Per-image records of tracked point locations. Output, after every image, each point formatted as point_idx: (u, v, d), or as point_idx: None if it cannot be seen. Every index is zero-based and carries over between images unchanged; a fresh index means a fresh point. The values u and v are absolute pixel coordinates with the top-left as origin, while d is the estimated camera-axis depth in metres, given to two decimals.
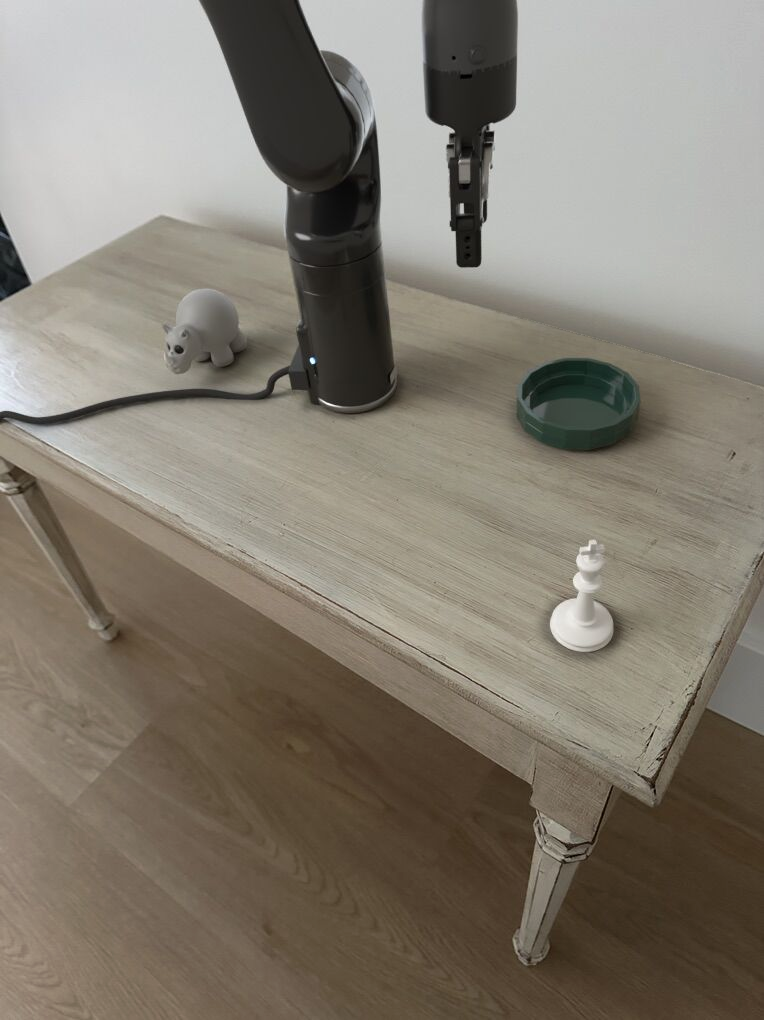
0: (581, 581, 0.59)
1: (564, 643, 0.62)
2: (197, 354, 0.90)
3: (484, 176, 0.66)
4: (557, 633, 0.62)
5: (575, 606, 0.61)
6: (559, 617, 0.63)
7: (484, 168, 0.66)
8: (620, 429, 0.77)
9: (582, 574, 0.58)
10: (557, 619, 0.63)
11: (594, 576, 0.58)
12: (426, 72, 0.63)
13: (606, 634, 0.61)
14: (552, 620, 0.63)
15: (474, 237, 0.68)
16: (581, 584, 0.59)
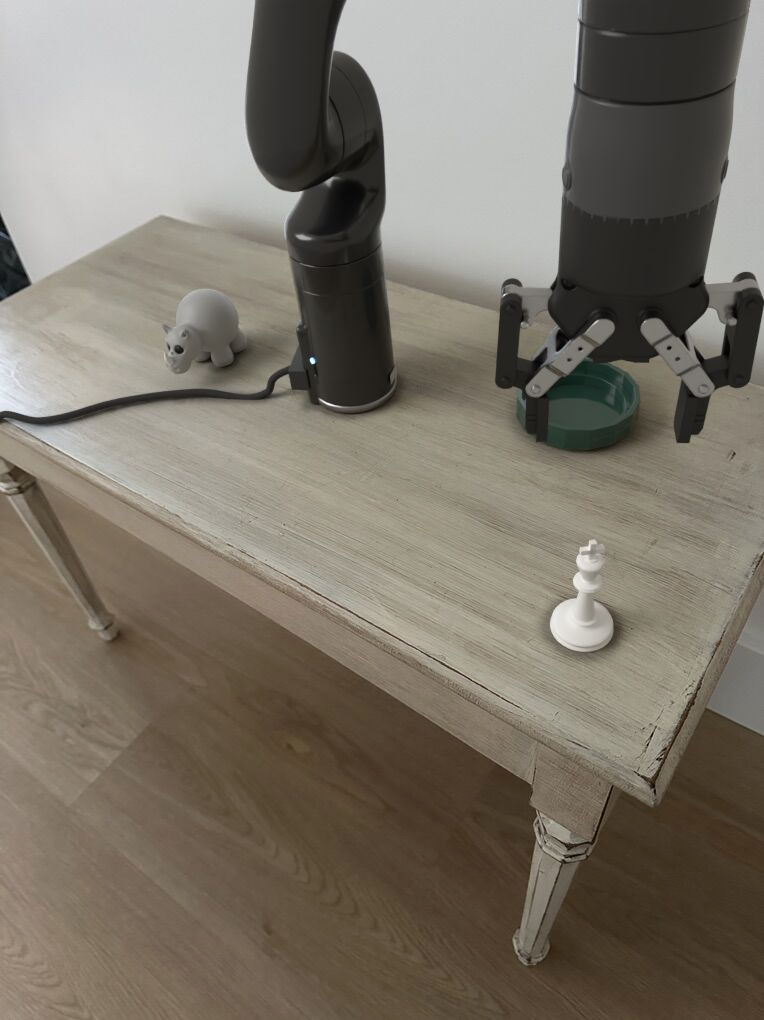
0: (581, 581, 0.59)
1: (564, 643, 0.62)
2: (197, 354, 0.90)
3: (566, 346, 0.45)
4: (557, 634, 0.62)
5: (575, 606, 0.61)
6: (559, 617, 0.63)
7: (573, 338, 0.44)
8: (620, 429, 0.77)
9: (582, 574, 0.58)
10: (557, 619, 0.63)
11: (594, 576, 0.58)
12: None
13: (606, 634, 0.61)
14: (552, 620, 0.63)
15: (526, 400, 0.48)
16: (581, 584, 0.59)
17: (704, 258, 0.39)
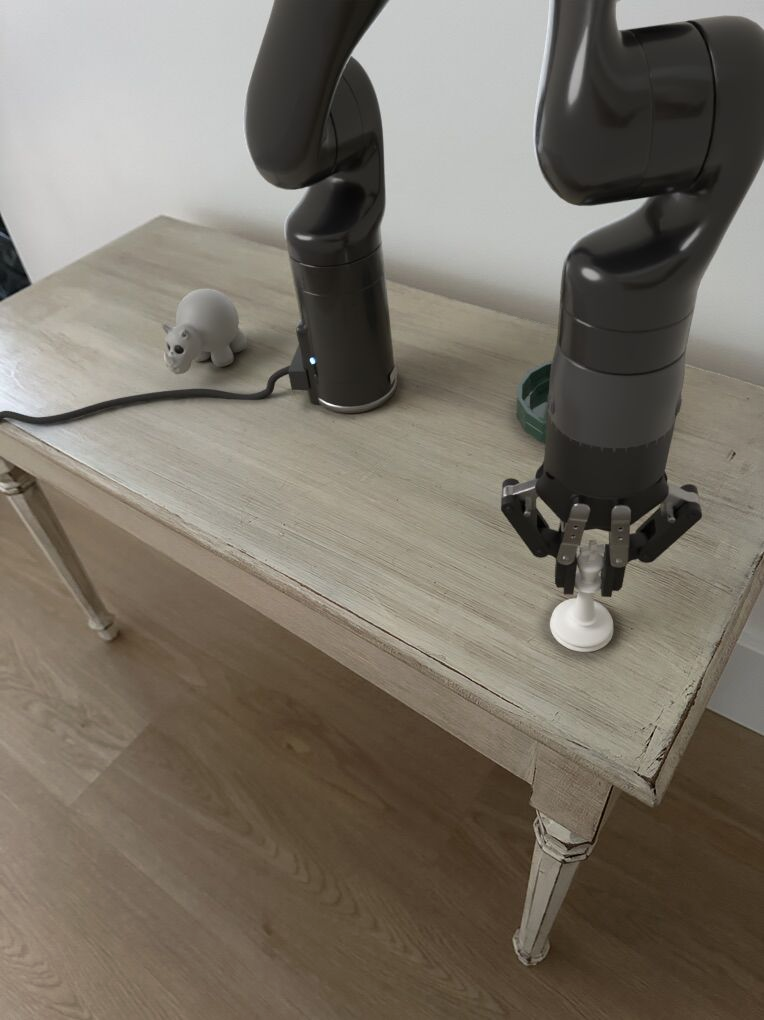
0: (581, 581, 0.59)
1: (564, 643, 0.62)
2: (197, 354, 0.90)
3: None
4: (557, 634, 0.62)
5: (575, 606, 0.61)
6: (559, 617, 0.63)
7: (566, 520, 0.53)
8: None
9: (582, 574, 0.58)
10: (557, 619, 0.63)
11: (594, 576, 0.58)
12: None
13: (606, 634, 0.61)
14: (552, 620, 0.63)
15: (556, 563, 0.57)
16: (581, 584, 0.59)
17: (663, 467, 0.48)
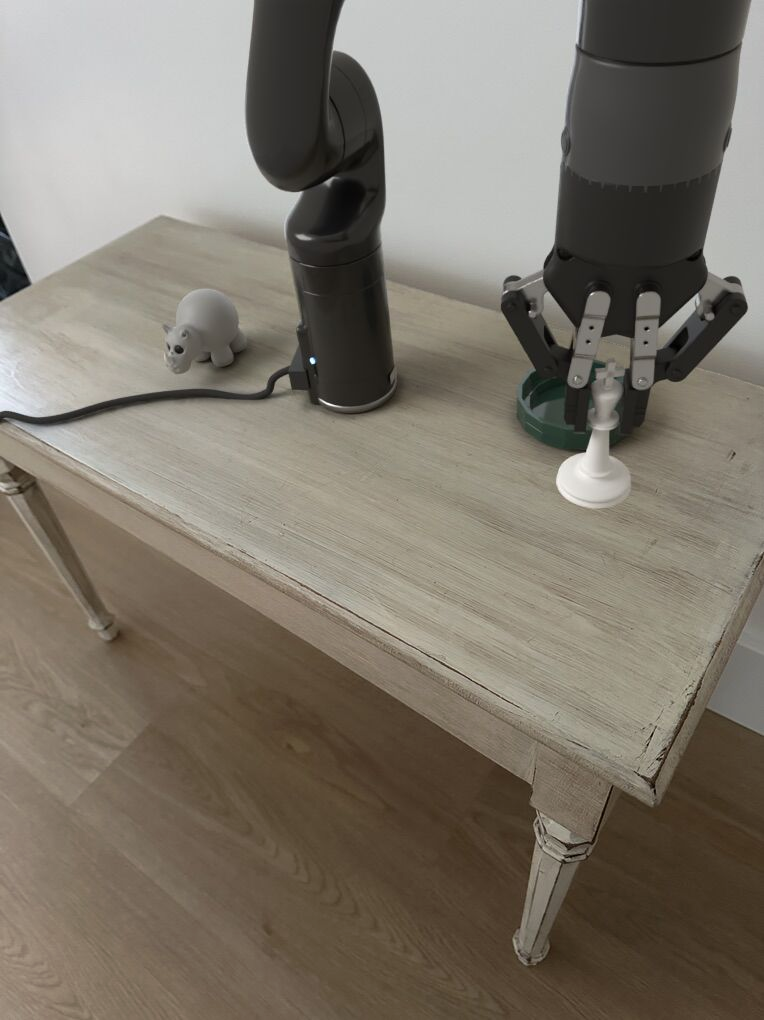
0: (595, 417, 0.49)
1: (573, 499, 0.52)
2: (197, 354, 0.90)
3: None
4: (564, 488, 0.53)
5: (587, 453, 0.52)
6: (567, 471, 0.53)
7: (580, 321, 0.44)
8: None
9: (597, 405, 0.48)
10: (565, 473, 0.53)
11: (611, 407, 0.48)
12: None
13: (623, 488, 0.52)
14: (559, 474, 0.53)
15: (566, 390, 0.48)
16: (595, 420, 0.49)
17: (703, 230, 0.38)
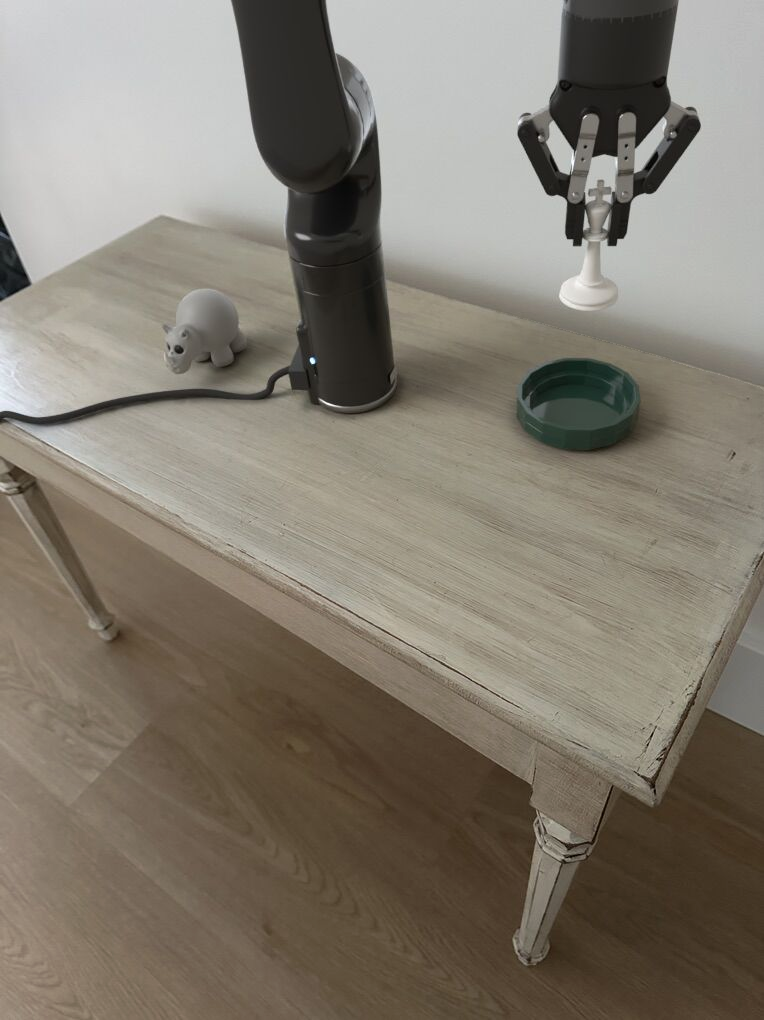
0: (589, 232, 0.64)
1: (572, 305, 0.67)
2: (197, 354, 0.90)
3: None
4: (566, 297, 0.67)
5: (583, 267, 0.66)
6: (567, 285, 0.68)
7: (577, 142, 0.58)
8: (620, 429, 0.77)
9: (590, 221, 0.63)
10: (566, 287, 0.68)
11: (601, 221, 0.63)
12: None
13: (611, 295, 0.67)
14: (561, 289, 0.68)
15: (567, 208, 0.63)
16: (589, 234, 0.64)
17: (665, 59, 0.53)
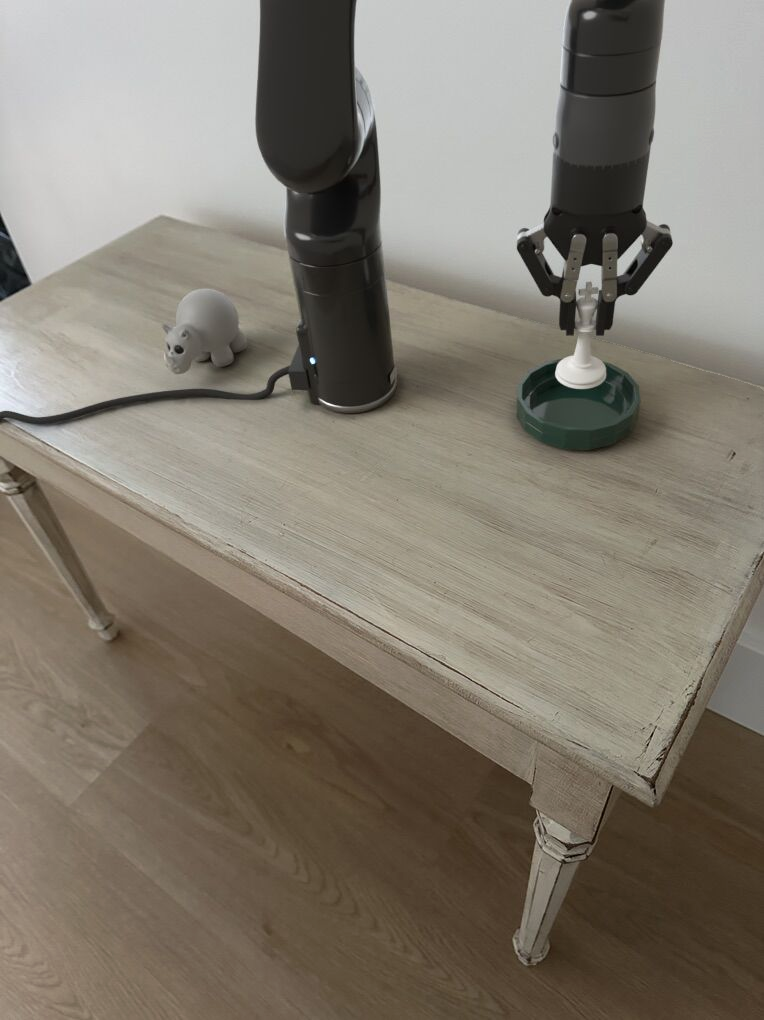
0: (580, 323, 0.74)
1: (566, 383, 0.77)
2: (197, 354, 0.90)
3: None
4: (561, 376, 0.77)
5: (575, 351, 0.76)
6: (562, 366, 0.78)
7: (568, 255, 0.68)
8: (620, 429, 0.77)
9: (581, 315, 0.73)
10: (561, 367, 0.78)
11: (590, 316, 0.73)
12: None
13: (600, 374, 0.77)
14: (557, 368, 0.78)
15: (560, 305, 0.73)
16: (580, 325, 0.74)
17: (641, 193, 0.63)
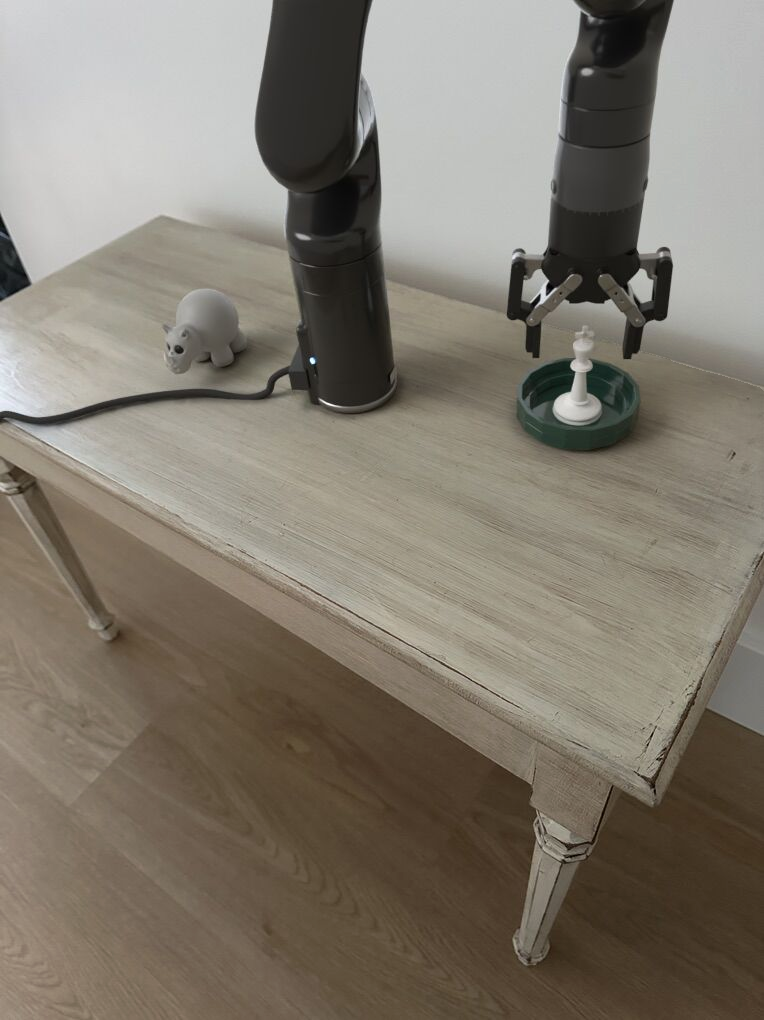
0: (576, 364, 0.77)
1: (563, 420, 0.80)
2: (197, 354, 0.90)
3: (552, 291, 0.71)
4: (558, 413, 0.80)
5: (572, 390, 0.80)
6: (559, 402, 0.81)
7: (556, 286, 0.70)
8: (620, 429, 0.77)
9: (577, 356, 0.76)
10: (558, 404, 0.81)
11: (586, 357, 0.76)
12: None
13: (596, 412, 0.80)
14: (554, 405, 0.81)
15: (526, 328, 0.75)
16: (576, 366, 0.77)
17: (635, 237, 0.66)
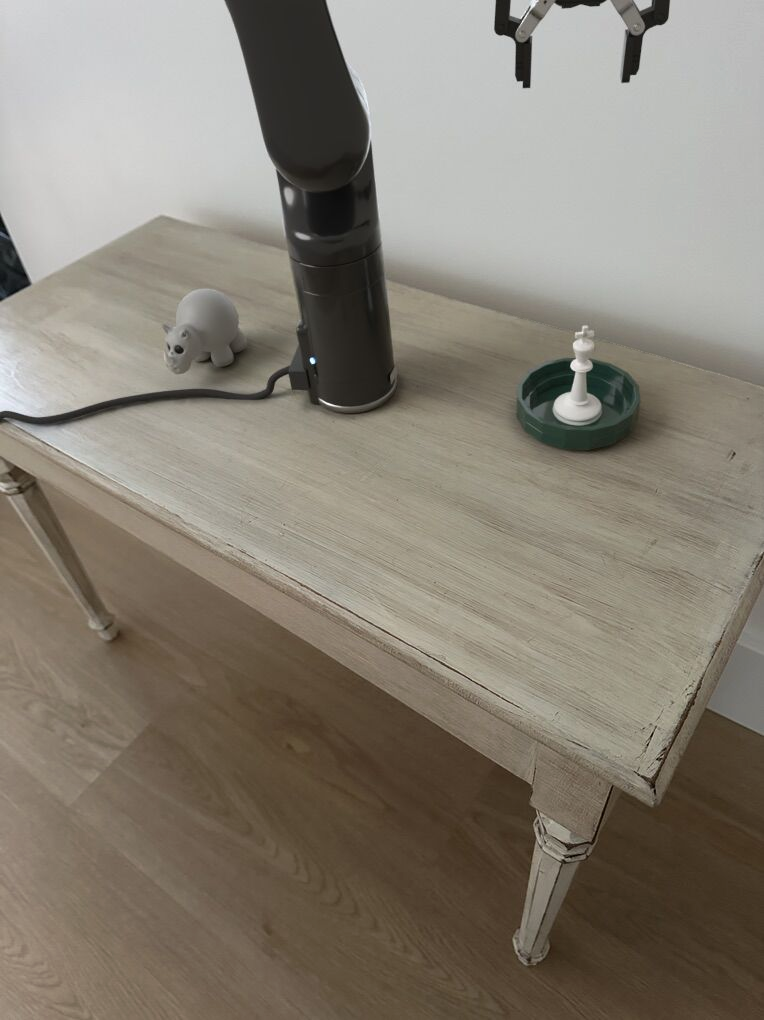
0: (576, 364, 0.77)
1: (563, 420, 0.80)
2: (197, 354, 0.90)
3: None
4: (558, 413, 0.80)
5: (572, 390, 0.80)
6: (559, 402, 0.81)
7: None
8: (620, 429, 0.77)
9: (577, 356, 0.76)
10: (558, 404, 0.81)
11: (586, 357, 0.76)
12: None
13: (596, 412, 0.80)
14: (554, 405, 0.81)
15: None
16: (576, 366, 0.77)
17: None
